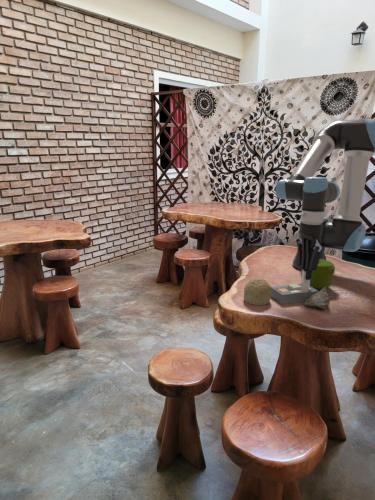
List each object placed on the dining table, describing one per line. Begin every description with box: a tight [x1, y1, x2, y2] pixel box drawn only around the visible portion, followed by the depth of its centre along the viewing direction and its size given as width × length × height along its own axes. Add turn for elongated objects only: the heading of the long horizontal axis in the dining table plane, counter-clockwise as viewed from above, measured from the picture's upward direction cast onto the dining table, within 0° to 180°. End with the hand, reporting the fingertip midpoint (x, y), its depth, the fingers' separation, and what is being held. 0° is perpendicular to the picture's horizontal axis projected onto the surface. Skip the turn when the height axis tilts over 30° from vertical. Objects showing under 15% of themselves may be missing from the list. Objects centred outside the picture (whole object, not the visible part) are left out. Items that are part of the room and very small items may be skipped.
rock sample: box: [303, 287, 331, 310], centre depth 123 cm, size 10×8×9 cm
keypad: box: [271, 283, 319, 305], centre depth 130 cm, size 14×8×4 cm, turn 106°
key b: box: [287, 283, 301, 291], centre depth 129 cm, size 3×3×2 cm
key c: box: [277, 288, 290, 293], centre depth 128 cm, size 3×3×2 cm
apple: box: [300, 259, 336, 290], centre depth 140 cm, size 12×12×11 cm
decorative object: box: [243, 278, 272, 306], centre depth 126 cm, size 9×10×10 cm
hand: (304, 287), depth 130 cm, fingers closed
